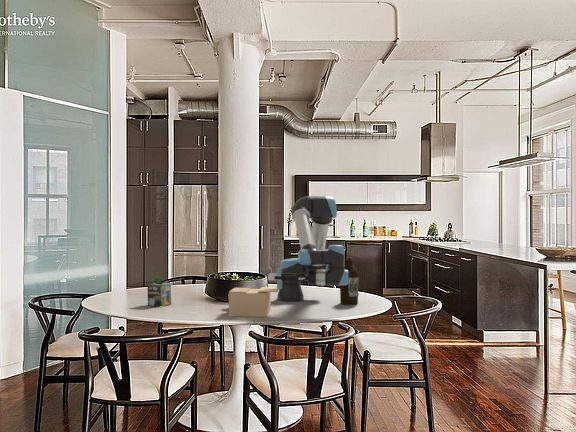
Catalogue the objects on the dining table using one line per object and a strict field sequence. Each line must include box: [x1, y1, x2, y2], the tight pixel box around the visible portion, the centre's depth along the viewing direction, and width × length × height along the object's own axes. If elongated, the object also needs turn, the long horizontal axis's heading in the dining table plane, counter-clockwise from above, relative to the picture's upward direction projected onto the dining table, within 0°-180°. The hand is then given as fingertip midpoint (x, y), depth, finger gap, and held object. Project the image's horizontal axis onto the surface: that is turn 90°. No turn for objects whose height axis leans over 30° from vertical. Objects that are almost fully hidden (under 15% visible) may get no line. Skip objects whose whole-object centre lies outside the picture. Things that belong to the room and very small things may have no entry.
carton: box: [227, 287, 271, 318], centre depth 275 cm, size 16×18×12 cm
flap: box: [258, 267, 282, 293], centre depth 274 cm, size 14×10×11 cm
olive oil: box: [339, 257, 360, 306], centre depth 306 cm, size 11×11×25 cm
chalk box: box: [146, 277, 172, 307], centre depth 300 cm, size 9×9×15 cm
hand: (268, 276), depth 274 cm, fingers closed on flap, 5 cm apart
